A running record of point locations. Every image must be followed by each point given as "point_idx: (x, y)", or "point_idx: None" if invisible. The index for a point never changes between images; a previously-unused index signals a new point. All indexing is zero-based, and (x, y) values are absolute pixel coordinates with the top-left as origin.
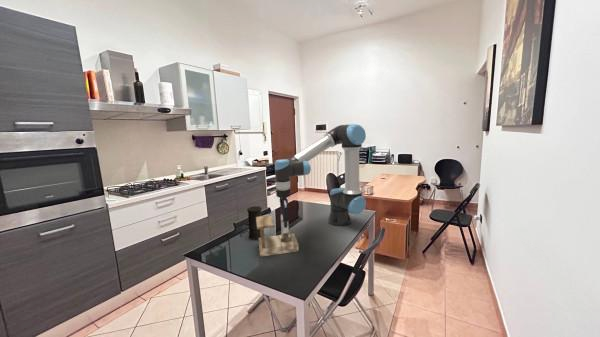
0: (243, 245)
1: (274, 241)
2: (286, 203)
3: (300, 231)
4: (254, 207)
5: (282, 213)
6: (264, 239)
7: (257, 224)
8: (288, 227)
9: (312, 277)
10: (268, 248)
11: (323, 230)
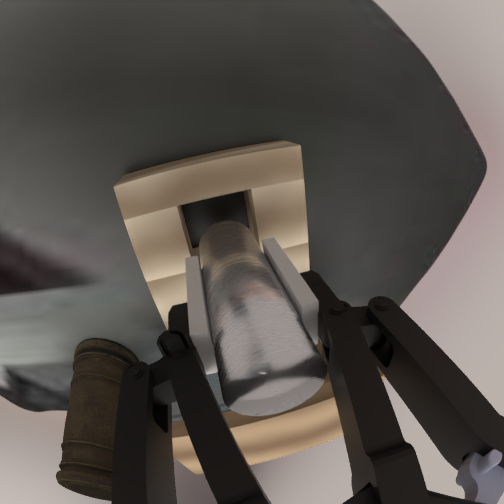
0: None
1: None
2: (461, 501)
3: (13, 149)
4: (83, 491)
5: (222, 414)
6: None
7: (330, 439)
8: (246, 253)
9: (454, 124)
10: None
11: (25, 12)
